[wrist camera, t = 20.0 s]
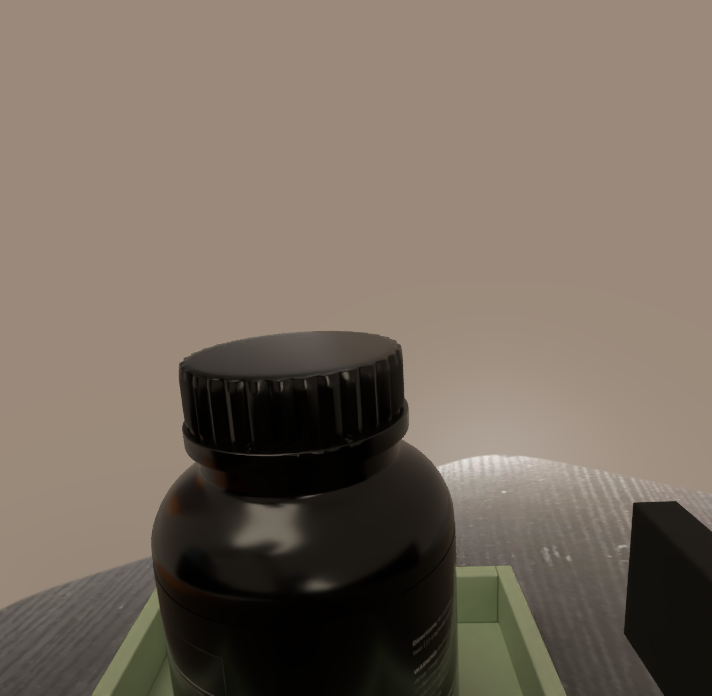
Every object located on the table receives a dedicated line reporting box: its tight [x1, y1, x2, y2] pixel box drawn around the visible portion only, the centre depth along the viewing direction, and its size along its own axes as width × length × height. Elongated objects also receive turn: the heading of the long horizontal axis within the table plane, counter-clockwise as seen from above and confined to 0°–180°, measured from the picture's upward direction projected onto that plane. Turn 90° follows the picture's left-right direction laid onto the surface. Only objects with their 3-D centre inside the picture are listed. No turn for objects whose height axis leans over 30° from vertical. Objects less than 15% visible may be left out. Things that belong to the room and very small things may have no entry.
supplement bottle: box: [151, 331, 459, 696], centre depth 13 cm, size 7×7×12 cm
